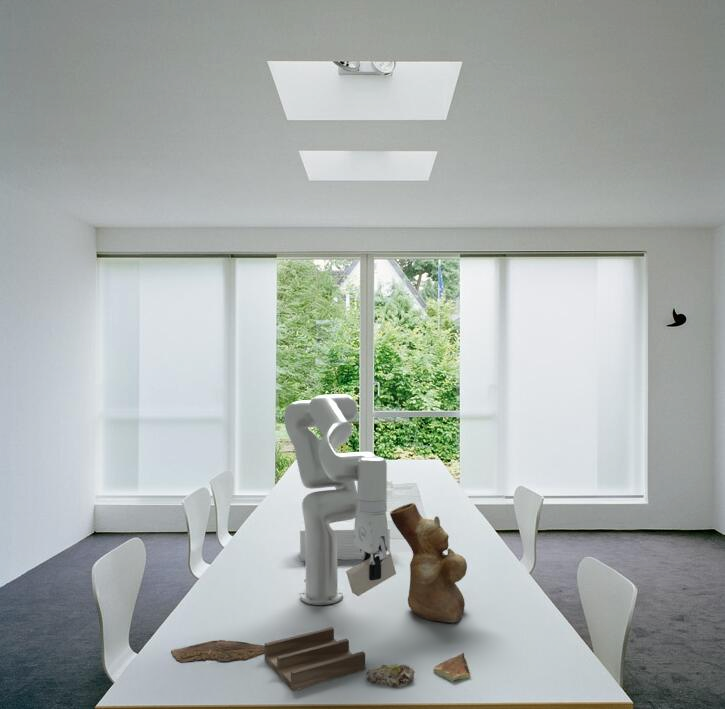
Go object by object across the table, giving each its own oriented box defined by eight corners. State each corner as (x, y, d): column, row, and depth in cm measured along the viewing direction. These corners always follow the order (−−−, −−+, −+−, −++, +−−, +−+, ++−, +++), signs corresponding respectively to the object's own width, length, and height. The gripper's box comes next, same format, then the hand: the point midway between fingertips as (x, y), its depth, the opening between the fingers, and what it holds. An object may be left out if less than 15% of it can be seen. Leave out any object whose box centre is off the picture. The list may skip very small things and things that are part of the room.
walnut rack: (264, 659, 149) (264, 643, 149) (331, 641, 158) (331, 626, 158) (293, 690, 135) (293, 673, 135) (365, 669, 144) (365, 653, 144)
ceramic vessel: (461, 628, 165) (460, 514, 166) (382, 617, 173) (382, 508, 173) (472, 606, 180) (471, 502, 180) (399, 597, 188) (398, 496, 188)
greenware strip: (352, 592, 159) (345, 571, 159) (390, 570, 165) (384, 549, 164) (358, 596, 157) (351, 574, 156) (396, 573, 163) (390, 552, 162)
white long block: (386, 550, 235) (386, 521, 235) (389, 559, 225) (389, 528, 225) (301, 552, 233) (301, 523, 233) (300, 561, 223) (300, 530, 223)
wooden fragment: (164, 664, 147) (164, 660, 147) (176, 643, 158) (176, 639, 158) (274, 663, 148) (274, 658, 148) (279, 642, 159) (279, 637, 159)
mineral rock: (410, 658, 145) (416, 665, 137) (412, 679, 143) (417, 687, 136) (364, 661, 144) (367, 668, 136) (365, 682, 143) (368, 691, 135)
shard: (463, 658, 150) (463, 651, 150) (488, 670, 144) (488, 662, 144) (431, 673, 143) (431, 665, 143) (457, 686, 137) (457, 678, 137)
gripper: (343, 500, 166) (343, 570, 166) (376, 514, 152) (375, 590, 152) (368, 497, 169) (367, 565, 170) (401, 510, 155) (401, 584, 156)
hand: (371, 576), depth 161 cm, fingers closed on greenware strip, 2 cm apart
